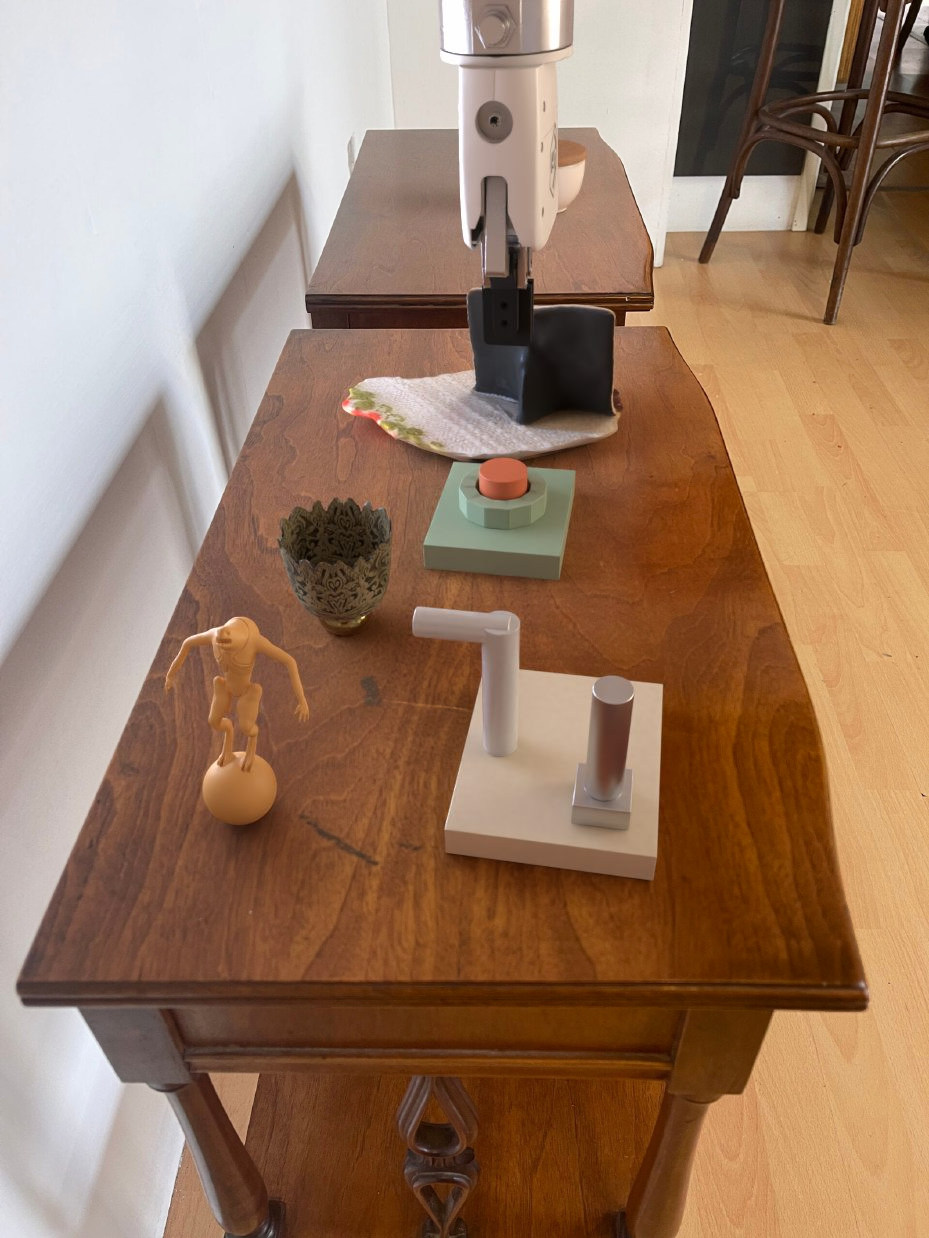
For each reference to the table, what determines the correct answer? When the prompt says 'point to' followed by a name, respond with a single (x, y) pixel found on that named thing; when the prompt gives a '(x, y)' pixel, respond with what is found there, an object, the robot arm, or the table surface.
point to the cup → (338, 561)
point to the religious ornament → (508, 391)
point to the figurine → (239, 779)
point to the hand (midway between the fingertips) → (508, 340)
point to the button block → (501, 525)
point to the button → (503, 479)
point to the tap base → (541, 759)
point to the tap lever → (606, 758)
